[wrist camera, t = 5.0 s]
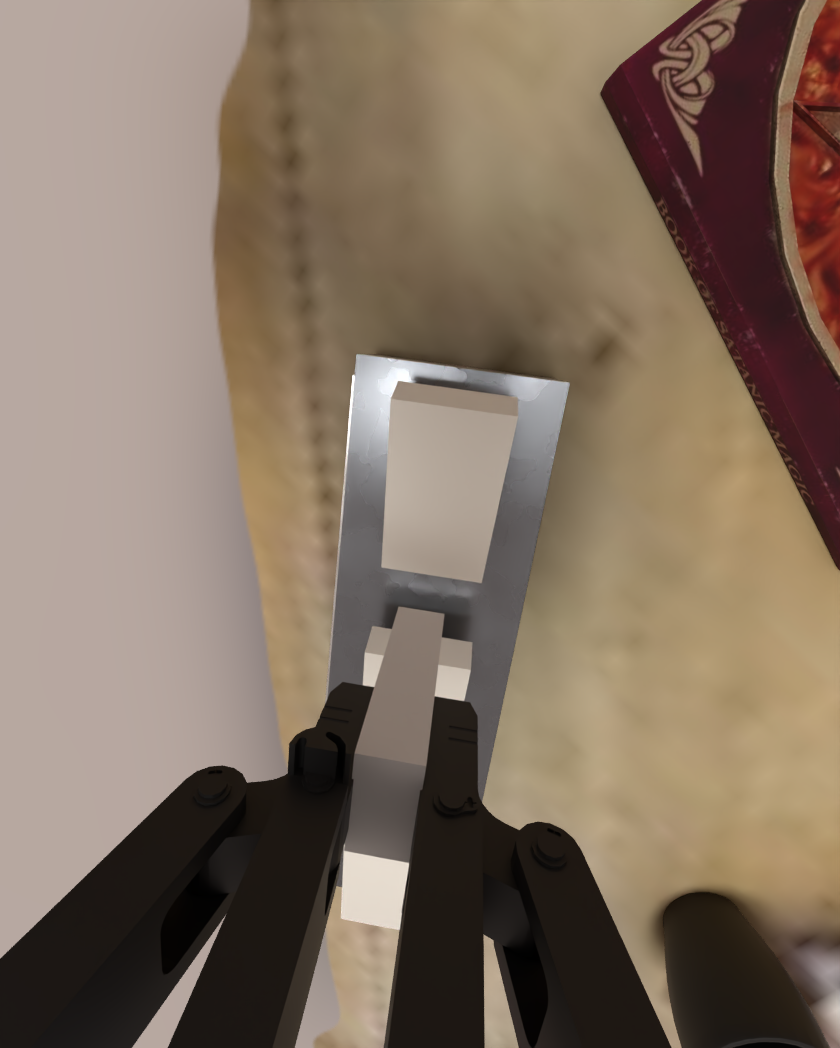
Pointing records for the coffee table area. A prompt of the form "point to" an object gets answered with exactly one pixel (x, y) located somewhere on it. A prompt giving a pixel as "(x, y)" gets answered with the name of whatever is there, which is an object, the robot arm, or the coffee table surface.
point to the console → (466, 605)
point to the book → (755, 204)
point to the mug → (730, 981)
